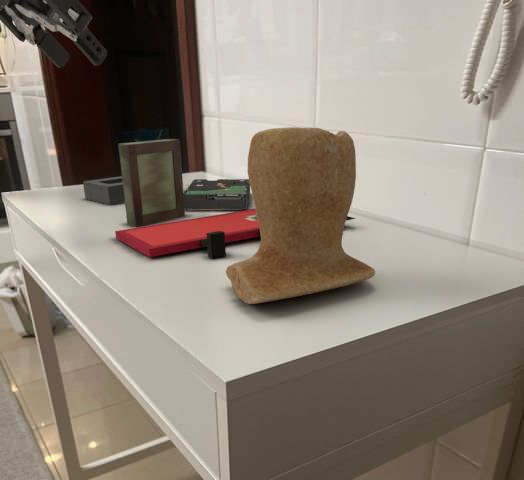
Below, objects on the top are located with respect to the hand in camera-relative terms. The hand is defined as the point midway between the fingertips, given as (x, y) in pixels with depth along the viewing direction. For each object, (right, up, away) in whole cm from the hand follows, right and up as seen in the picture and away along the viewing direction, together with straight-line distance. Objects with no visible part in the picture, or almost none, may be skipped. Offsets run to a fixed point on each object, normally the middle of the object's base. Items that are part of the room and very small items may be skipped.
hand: (82, 61), depth 69 cm
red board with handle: (+20, -21, +5) cm, 29 cm away
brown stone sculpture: (+25, -30, -13) cm, 41 cm away
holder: (-1, -8, +31) cm, 32 cm away
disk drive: (+15, -11, +26) cm, 32 cm away
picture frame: (+7, -17, +13) cm, 22 cm away
